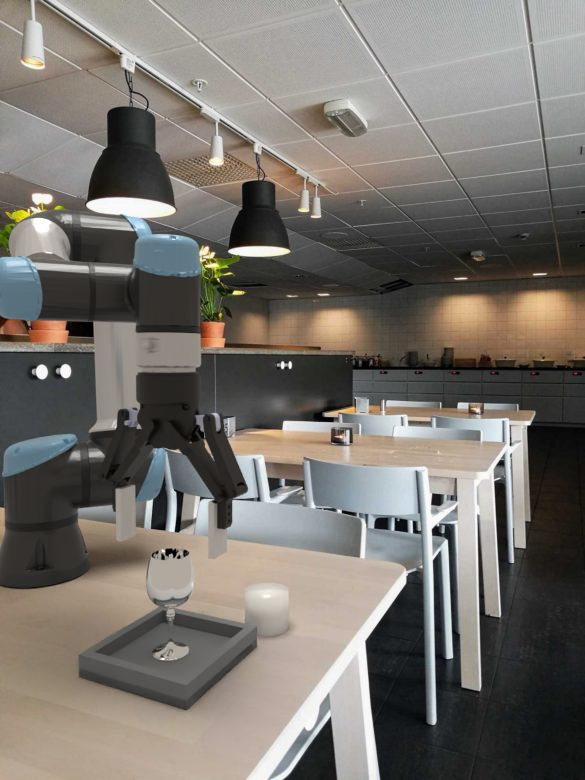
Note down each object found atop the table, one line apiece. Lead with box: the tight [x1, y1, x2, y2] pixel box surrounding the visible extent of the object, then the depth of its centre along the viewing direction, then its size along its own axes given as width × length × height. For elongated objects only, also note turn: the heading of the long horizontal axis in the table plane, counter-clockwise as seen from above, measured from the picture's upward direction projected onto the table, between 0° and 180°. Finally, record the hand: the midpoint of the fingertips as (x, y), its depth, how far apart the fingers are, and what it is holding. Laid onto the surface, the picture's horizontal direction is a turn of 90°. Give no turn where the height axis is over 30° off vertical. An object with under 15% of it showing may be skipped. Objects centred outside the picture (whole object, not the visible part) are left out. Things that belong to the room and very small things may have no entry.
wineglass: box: [145, 547, 196, 661], centre depth 70 cm, size 6×6×12 cm
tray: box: [78, 606, 258, 710], centre depth 70 cm, size 15×15×3 cm
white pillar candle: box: [244, 582, 290, 638], centre depth 79 cm, size 6×6×5 cm
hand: (170, 546), depth 70 cm, fingers open, 13 cm apart
